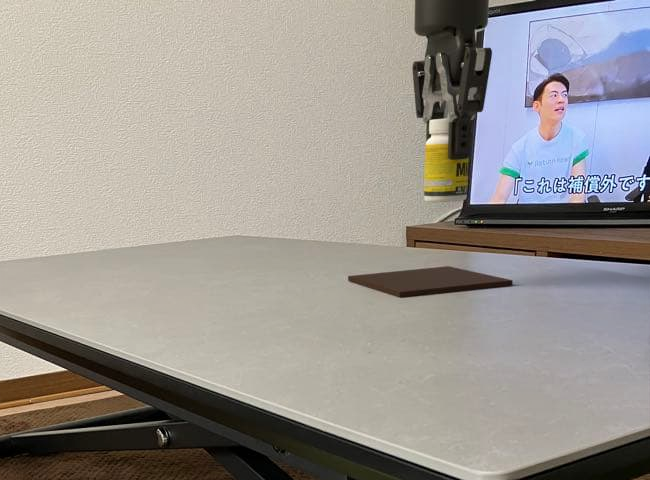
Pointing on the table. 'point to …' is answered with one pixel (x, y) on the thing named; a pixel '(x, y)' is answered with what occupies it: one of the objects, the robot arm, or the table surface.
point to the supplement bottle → (443, 167)
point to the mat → (428, 281)
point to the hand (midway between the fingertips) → (446, 158)
